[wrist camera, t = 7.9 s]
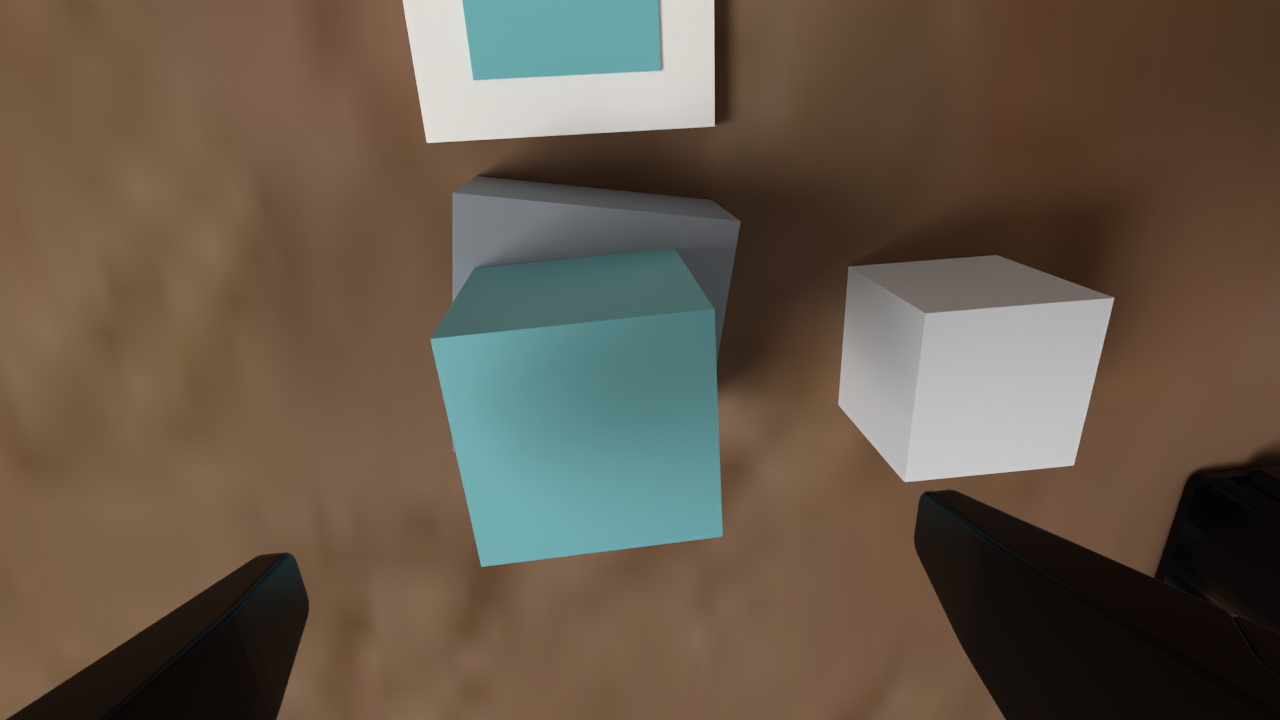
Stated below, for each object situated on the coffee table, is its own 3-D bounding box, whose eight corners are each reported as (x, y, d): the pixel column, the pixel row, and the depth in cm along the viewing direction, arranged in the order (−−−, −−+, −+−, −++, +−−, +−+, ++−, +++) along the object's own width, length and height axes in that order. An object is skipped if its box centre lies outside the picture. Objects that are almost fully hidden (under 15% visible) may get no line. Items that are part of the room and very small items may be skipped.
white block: (973, 391, 23) (1073, 465, 18) (837, 403, 22) (904, 482, 18) (995, 254, 21) (1114, 297, 16) (847, 266, 20) (925, 313, 16)
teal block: (684, 423, 18) (722, 536, 13) (506, 443, 17) (481, 566, 13) (674, 248, 16) (714, 308, 11) (474, 268, 16) (430, 339, 11)
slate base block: (679, 402, 22) (699, 463, 18) (474, 390, 21) (452, 451, 17) (709, 198, 19) (740, 220, 16) (478, 175, 18) (452, 192, 15)
